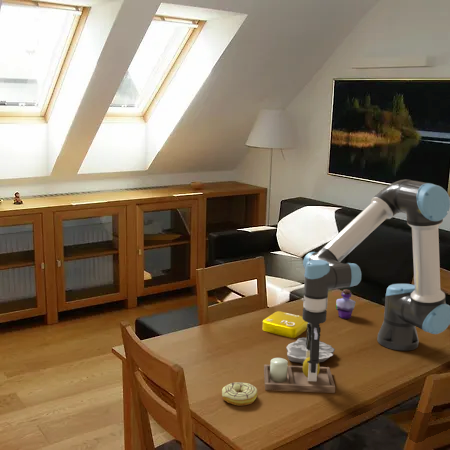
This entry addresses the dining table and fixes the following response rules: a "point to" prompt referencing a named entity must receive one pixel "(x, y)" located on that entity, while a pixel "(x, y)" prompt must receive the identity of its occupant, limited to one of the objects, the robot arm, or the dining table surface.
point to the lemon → (306, 367)
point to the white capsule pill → (278, 370)
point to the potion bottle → (345, 305)
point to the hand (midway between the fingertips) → (310, 374)
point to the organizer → (301, 381)
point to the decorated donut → (239, 393)
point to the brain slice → (299, 349)
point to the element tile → (284, 324)
